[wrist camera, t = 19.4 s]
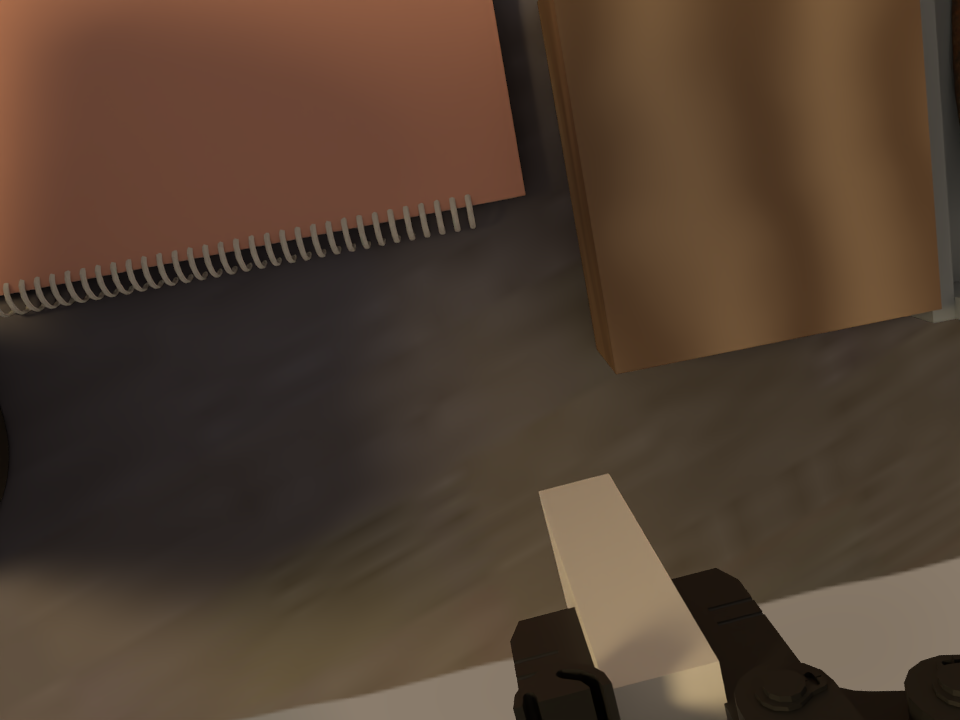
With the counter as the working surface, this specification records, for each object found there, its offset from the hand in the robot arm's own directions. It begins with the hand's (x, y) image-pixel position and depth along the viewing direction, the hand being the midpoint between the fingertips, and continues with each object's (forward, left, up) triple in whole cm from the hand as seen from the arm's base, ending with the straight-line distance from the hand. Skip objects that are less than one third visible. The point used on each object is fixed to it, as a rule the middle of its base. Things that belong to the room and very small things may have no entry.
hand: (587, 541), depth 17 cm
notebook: (-17, +6, -24) cm, 30 cm away
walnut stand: (+6, +11, -23) cm, 26 cm away
